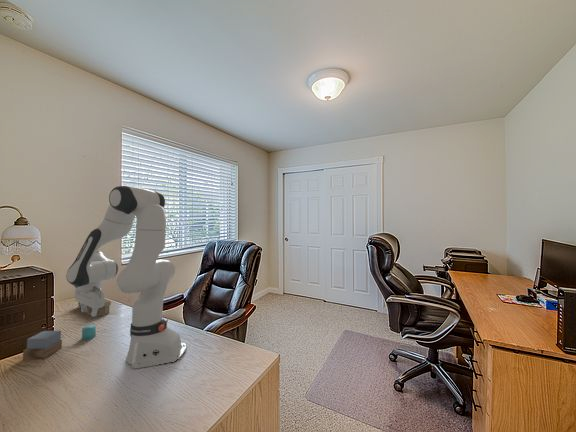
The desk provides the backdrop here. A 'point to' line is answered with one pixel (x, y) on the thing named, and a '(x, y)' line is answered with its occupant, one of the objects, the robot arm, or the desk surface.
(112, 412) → the desk surface
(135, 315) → the robot arm
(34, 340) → the slate-grey upper block
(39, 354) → the walnut base block
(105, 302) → the block tower
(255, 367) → the desk surface
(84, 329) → the teal cylinder
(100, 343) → the desk surface
